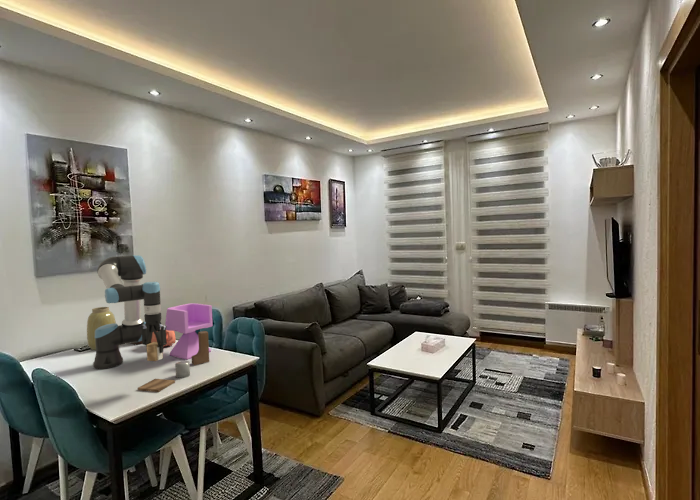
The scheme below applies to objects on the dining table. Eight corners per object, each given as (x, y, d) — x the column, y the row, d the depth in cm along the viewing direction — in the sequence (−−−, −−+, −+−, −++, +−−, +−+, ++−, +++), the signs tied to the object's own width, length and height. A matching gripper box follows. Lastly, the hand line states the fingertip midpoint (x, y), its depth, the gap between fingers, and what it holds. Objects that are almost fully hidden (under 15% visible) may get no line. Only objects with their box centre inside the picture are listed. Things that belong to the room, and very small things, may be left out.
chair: (186, 360, 236) (184, 311, 235) (166, 355, 247) (164, 308, 245) (213, 351, 253) (211, 305, 251) (194, 347, 264) (191, 302, 262)
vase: (107, 351, 259) (105, 310, 257) (81, 351, 259) (79, 311, 258) (122, 343, 276) (120, 305, 275) (98, 343, 276) (96, 305, 275)
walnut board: (137, 390, 194) (137, 387, 194) (155, 380, 206) (155, 378, 206) (158, 392, 191) (158, 389, 191) (174, 382, 203) (174, 380, 203)
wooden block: (194, 365, 228) (192, 334, 227) (191, 363, 231) (190, 333, 230) (209, 361, 234) (208, 332, 233) (206, 360, 237) (205, 330, 236)
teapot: (144, 346, 269) (143, 325, 268) (162, 341, 279) (160, 321, 278) (162, 351, 257) (161, 329, 256) (180, 346, 267) (179, 325, 266)
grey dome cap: (173, 377, 210) (172, 365, 209) (181, 373, 217) (181, 360, 216) (184, 378, 208) (183, 365, 208) (192, 373, 215) (192, 361, 214)
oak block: (147, 360, 196) (146, 344, 196) (154, 357, 201) (153, 341, 200) (155, 361, 195) (154, 345, 194) (163, 358, 200) (162, 342, 199)
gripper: (131, 314, 195) (134, 360, 196) (162, 315, 191) (165, 362, 192) (143, 310, 202) (145, 355, 204) (173, 311, 198) (175, 357, 199)
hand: (155, 358), depth 198 cm, fingers closed on oak block, 5 cm apart
